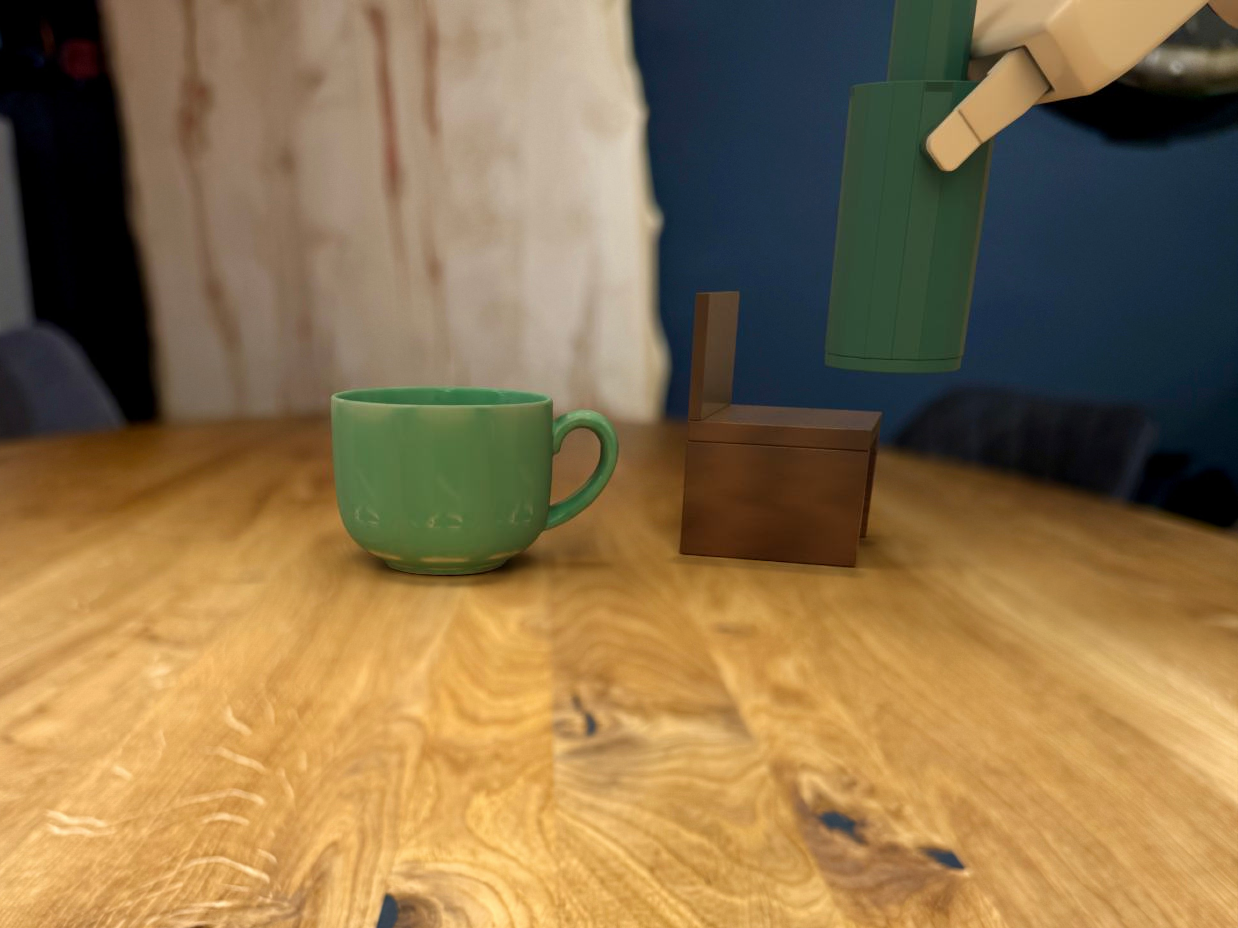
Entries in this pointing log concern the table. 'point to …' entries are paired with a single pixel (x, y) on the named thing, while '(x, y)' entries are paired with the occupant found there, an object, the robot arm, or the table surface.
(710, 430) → the wooden toy chair
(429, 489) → the mug
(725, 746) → the table surface
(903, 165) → the bottle
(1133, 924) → the table surface
